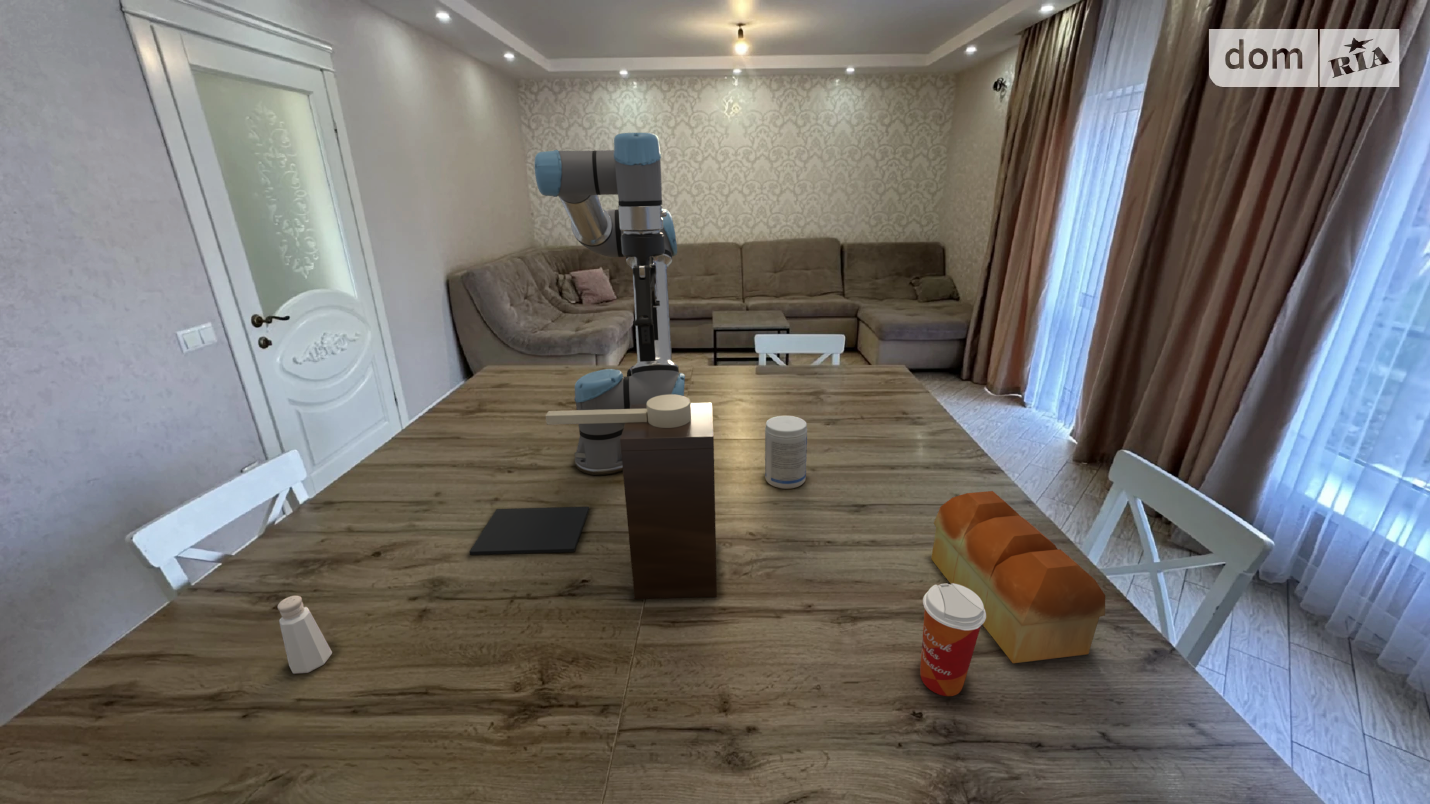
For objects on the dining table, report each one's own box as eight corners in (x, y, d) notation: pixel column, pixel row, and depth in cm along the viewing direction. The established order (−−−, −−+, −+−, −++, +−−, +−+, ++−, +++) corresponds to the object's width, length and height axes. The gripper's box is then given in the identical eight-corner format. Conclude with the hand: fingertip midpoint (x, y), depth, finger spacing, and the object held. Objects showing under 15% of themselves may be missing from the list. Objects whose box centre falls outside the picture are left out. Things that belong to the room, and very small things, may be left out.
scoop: (553, 413, 92) (551, 397, 91) (691, 410, 92) (690, 393, 91) (542, 431, 85) (539, 413, 84) (690, 427, 86) (690, 409, 84)
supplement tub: (813, 482, 128) (817, 425, 123) (782, 494, 124) (784, 435, 118) (786, 466, 136) (788, 411, 131) (756, 477, 131) (756, 420, 126)
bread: (1092, 656, 80) (1117, 573, 75) (1012, 666, 79) (1032, 582, 73) (991, 551, 103) (1005, 482, 98) (928, 557, 102) (938, 488, 97)
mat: (497, 512, 119) (496, 508, 119) (589, 509, 119) (589, 506, 119) (469, 555, 105) (469, 551, 105) (574, 552, 106) (574, 548, 105)
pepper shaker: (341, 650, 84) (321, 592, 80) (306, 679, 79) (283, 618, 75) (315, 642, 85) (294, 585, 81) (280, 669, 81) (255, 610, 77)
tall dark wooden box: (642, 548, 106) (631, 404, 95) (715, 546, 106) (712, 402, 95) (634, 599, 93) (619, 438, 82) (717, 596, 93) (713, 436, 82)
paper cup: (903, 659, 80) (914, 582, 75) (954, 655, 81) (968, 578, 76) (927, 706, 73) (941, 624, 68) (982, 701, 74) (1000, 619, 68)
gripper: (661, 238, 84) (668, 370, 92) (665, 225, 107) (670, 332, 115) (612, 239, 84) (623, 371, 92) (627, 226, 107) (634, 333, 115)
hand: (649, 349), depth 103 cm, fingers open, 13 cm apart
